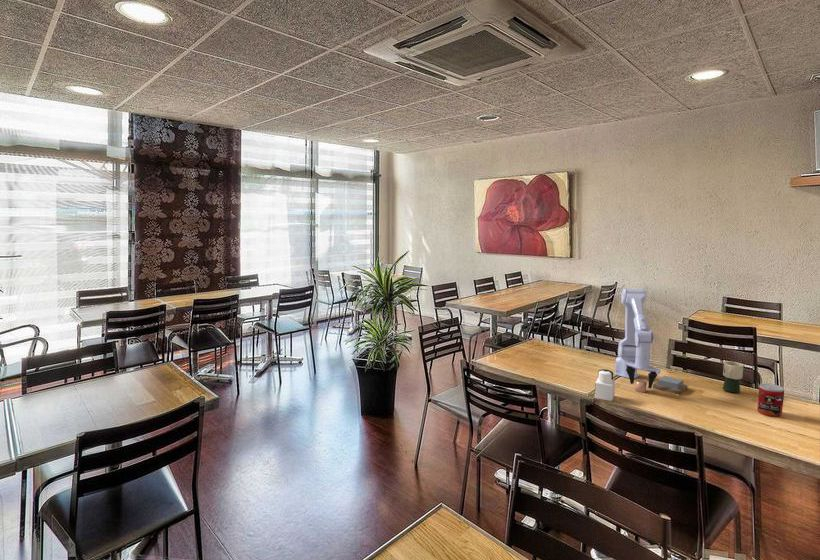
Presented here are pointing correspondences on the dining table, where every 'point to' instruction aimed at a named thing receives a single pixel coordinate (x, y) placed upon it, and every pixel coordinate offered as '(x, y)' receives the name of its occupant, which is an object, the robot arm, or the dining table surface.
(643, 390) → the egg
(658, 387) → the base slab
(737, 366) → the character mug
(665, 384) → the top slab
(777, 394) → the canned food
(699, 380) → the dining table surface
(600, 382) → the medicine bottle
